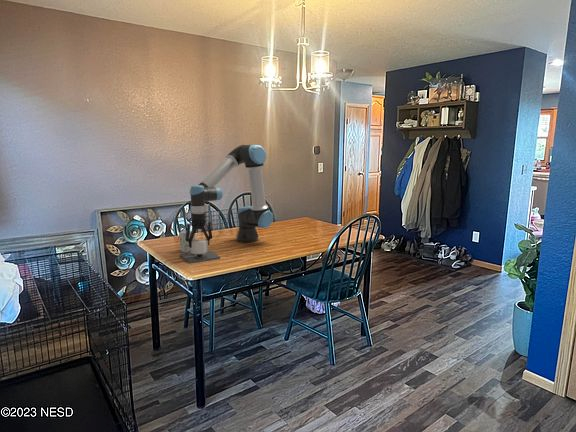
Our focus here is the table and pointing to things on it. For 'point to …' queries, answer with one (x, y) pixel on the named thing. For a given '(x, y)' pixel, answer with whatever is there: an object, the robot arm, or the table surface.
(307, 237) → the table surface
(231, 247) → the table surface
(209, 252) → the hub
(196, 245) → the light grey boxy piece
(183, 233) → the ink box
